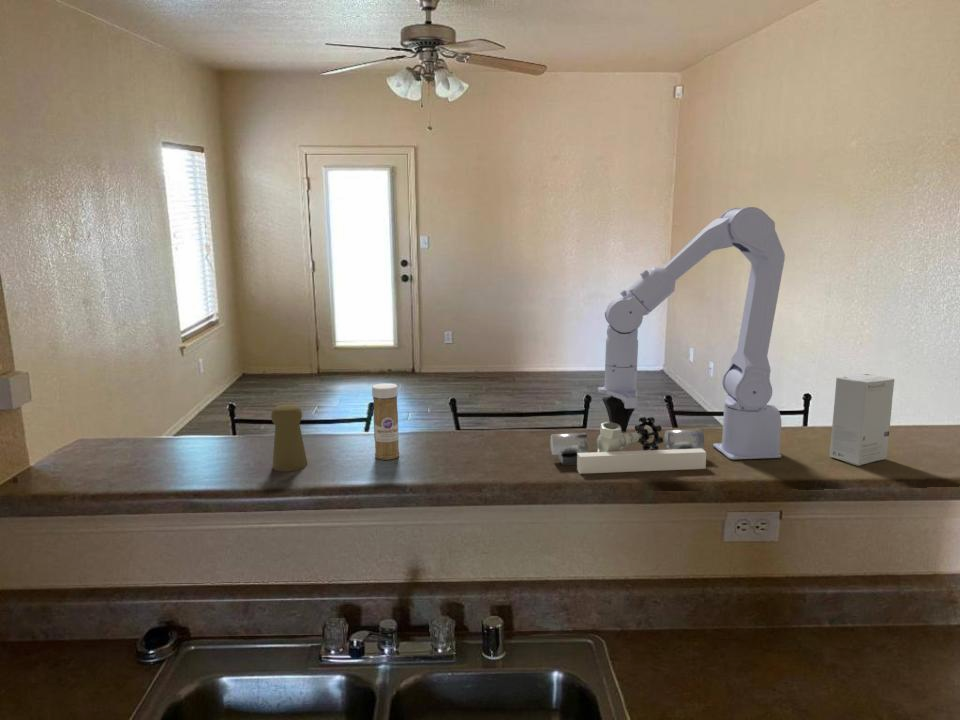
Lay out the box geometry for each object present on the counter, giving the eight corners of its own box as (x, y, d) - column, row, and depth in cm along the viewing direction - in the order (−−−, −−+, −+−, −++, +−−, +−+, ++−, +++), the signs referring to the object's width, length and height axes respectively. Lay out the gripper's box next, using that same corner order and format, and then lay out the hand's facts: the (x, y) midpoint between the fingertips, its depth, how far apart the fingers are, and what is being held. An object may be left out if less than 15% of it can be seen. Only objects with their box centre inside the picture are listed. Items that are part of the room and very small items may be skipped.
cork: (313, 461, 125) (310, 402, 123) (296, 472, 120) (292, 411, 118) (284, 458, 127) (280, 400, 125) (265, 469, 121) (261, 409, 119)
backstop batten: (700, 464, 121) (701, 448, 121) (705, 468, 119) (706, 452, 119) (576, 469, 120) (577, 452, 119) (579, 473, 118) (579, 456, 117)
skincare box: (858, 467, 120) (867, 383, 117) (827, 457, 125) (834, 376, 122) (888, 459, 123) (897, 377, 121) (856, 449, 129) (864, 371, 126)
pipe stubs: (694, 452, 128) (696, 426, 127) (704, 460, 124) (705, 433, 123) (549, 457, 126) (550, 430, 125) (554, 465, 122) (554, 438, 121)
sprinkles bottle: (380, 462, 124) (377, 389, 122) (371, 455, 128) (367, 384, 126) (404, 457, 127) (401, 386, 124) (393, 451, 131) (391, 381, 128)
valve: (609, 470, 120) (660, 457, 126) (614, 435, 118) (666, 424, 124) (585, 453, 126) (636, 442, 131) (590, 420, 123) (640, 410, 129)
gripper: (590, 357, 133) (587, 425, 136) (609, 373, 119) (607, 449, 121) (626, 356, 134) (623, 424, 136) (650, 372, 119) (646, 448, 122)
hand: (618, 436), depth 129 cm, fingers closed
